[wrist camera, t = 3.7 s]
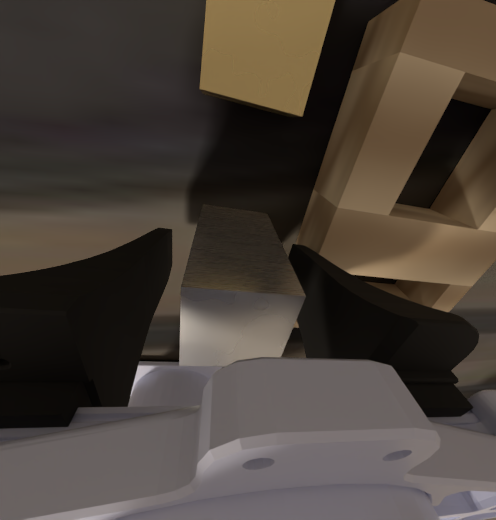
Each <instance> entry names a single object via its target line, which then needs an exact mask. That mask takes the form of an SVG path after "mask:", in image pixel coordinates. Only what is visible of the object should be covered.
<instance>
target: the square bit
mask: <svg viewBox="0 0 496 520" xmlns="http://www.w3.org/2000/svg"><path fill="white" fill-rule="evenodd" d="M305 298H306V295H305V293H304V291H303V289H302V287H301V285H300V282H299V280H298V278H297V276H296V274H295V272H294V270H293V267H292V265H291V263H290V261H289V259H288V257H287V255H286V252H285V250H284V248H283V246H282V244H281V242H280V240H279V237H278V235H277V233H276V231H275V229H274V227H273V225H272V222H271V220H270V218H269V216H268V214H267V213H262V212H255V211H248V210H241V209H234V208H227V207H220V206H213V205H206V204H203V205H202V209H201V213H200V217H199V220H198V224H197V228H196V232H195V236H194V240H193V243H192V247H191V251H190V255H189V259H188V263H187V266H186V270H185V274H184V278H183V282H182V285H181V314H180V354H179V366H227V365H229V364H231V363H233V362H235V361H237V360H243V359H251V358H258V357H281V355H282V353H283V351H284V348H285V346H286V343H287V341H288V339H289V336H290V334H291V331H292V329H293V327H294V324H295V322H296V319H297V317H298V315H299V312H300V310H301V307H302V305H303V303H304V300H305Z"/></svg>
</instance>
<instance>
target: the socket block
mask: <svg viewBox="0 0 496 520" xmlns="http://www.w3.org/2000/svg"><path fill="white" fill-rule="evenodd" d="M451 98H452V99H455V100H459V101H462V102H466V103H470V104H473V105H477V106H481V107H484V108H488V109H491V111H490V113H489V114H488V116H487V118H486V119H485V121H484V122H483V124H482V126H481V127H480V129H479V130H478V132H477V134H476V135H475V137H474V138H473V140H472V142H471V143H470V145H469V146H468V148H467V149H466V151H465V153H464V154H463V156H462V157H461V159H460V161H459V162H458V164H457V165H456V167H455V169H454V170H453V172H452V173H451V175H450V177H449V178H448V180H447V181H446V183H445V185H444V186H443V188H442V189H441V191H440V193H439V194H438V196H437V197H436V199H435V201H434V202H433V204H432V205H431V207H430V208H429V209H427V208H422V207H416V206H410V205H404V204H398V203H395V202H396V201H397V199H398V197H399V195H400V193H401V191H402V189H403V188H404V186H405V184H406V182H407V180H408V178H409V176H410V175H411V173H412V171H413V169H414V167H415V165H416V163H417V161H418V160H419V158H420V156H421V154H422V152H423V150H424V148H425V147H426V145H427V143H428V141H429V139H430V137H431V135H432V133H433V132H434V130H435V128H436V126H437V124H438V122H439V120H440V119H441V117H442V115H443V113H444V111H445V109H446V107H447V105H448V104H449V102H450V100H451ZM296 244H298V245H304V246H307V247H308V248H310V249H312V250H313V251H315V252H316V253H318V254H319V255H321V256H322V257H324V258H325V259H327V260H328V261H330V262H331V263H333V264H335V265H336V266H338V267H339V268H341V269H343V270H344V271H346V272H348V273H349V274H351V275H361V276H371V277H381V278H391V279H398V280H397V281H396V283H395V284H385V283H375V282H366V283H368V284H370V285H372V286H374V287H377V288H379V289H381V290H384V291H386V292H388V293H391V294H393V295H396V296H398V297H401V298H404V299H406V300H409V301H412V302H415V303H418V304H421V305H424V306H427V307H431V308H434V309H438V310H441V311H445V312H449V311H450V310H451V309H452V308H453V307H454V306H455V305H456V303H457V302H458V301H459V300H460V299H461V298H462V297H463V296H464V295H465V294H466V292H467V291H468V290H469V289H470V288H471V287H472V286H473V285H474V284H475V282H476V281H477V280H478V279H479V278H480V277H481V276H482V275H483V274H484V272H485V271H486V270H487V269H488V268H489V267H490V266H491V265H492V264H493V263H494V261H495V260H496V5H495V4H492V3H489V2H487V1H484V0H399V1H397V2H396V3H394V4H393V5H392V6H390V7H389V8H387V9H386V10H384V11H383V12H381V13H380V14H379V15H377V16H376V17H374V18H373V19H371V20H370V21H368V24H367V27H366V30H365V33H364V37H363V40H362V43H361V46H360V49H359V52H358V55H357V58H356V61H355V64H354V67H353V70H352V73H351V76H350V79H349V82H348V85H347V88H346V91H345V94H344V98H343V101H342V104H341V107H340V110H339V113H338V116H337V119H336V122H335V125H334V128H333V131H332V134H331V137H330V140H329V143H328V146H327V149H326V152H325V156H324V159H323V162H322V165H321V168H320V171H319V174H318V177H317V180H316V183H315V186H314V189H313V192H312V195H311V198H310V201H309V204H308V207H307V210H306V213H305V217H304V220H303V223H302V226H301V229H300V232H299V235H298V238H297V241H296ZM293 328H299V326H298V323H297V320H296V322H295V324H294V327H293Z"/></svg>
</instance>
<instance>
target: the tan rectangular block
mask: <svg viewBox="0 0 496 520" xmlns="http://www.w3.org/2000/svg"><path fill="white" fill-rule="evenodd" d="M334 4H335V0H206V13H205V26H204V39H203V52H202V65H201V78H200V90H201V91H202V93H203V94H206V95H209V96H213V97H217V98H221V99H224V100H228V101H232V102H236V103H239V104H243V105H247V106H251V107H254V108H258V109H262V110H266V111H269V112H273V113H277V114H280V115H284V116H288V117H302V116H303V113H304V109H305V106H306V102H307V99H308V95H309V92H310V88H311V85H312V81H313V78H314V74H315V71H316V67H317V63H318V60H319V56H320V53H321V49H322V46H323V42H324V39H325V35H326V32H327V28H328V25H329V21H330V18H331V14H332V11H333V7H334Z"/></svg>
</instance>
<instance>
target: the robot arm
mask: <svg viewBox="0 0 496 520" xmlns="http://www.w3.org/2000/svg"><path fill="white" fill-rule="evenodd" d="M288 259H289V261H290V263H291V265H292V267H293V270H294V272H295V274H296V276H297V278H298V280H299V282H300V285H301V287H302V289H303V291H304V293H305V295H306V298H305V300H304V303H303V305H302V307H301V310H300V312H299V315H298V317H297V319H296V320H297V323H298V326H299V329H300V332H301V336H302V340H303V344H304V348H305V353H306V358H284V357H258V358H251V359H243V360H237V361H235V362H233V363H231V364H229V365H227V366H225V367H223V366H179V362H154V361H140V357H141V354H142V350H143V346H144V343H145V339H146V336H147V333H148V329H149V326H150V323H151V320H152V318H153V315H154V313H155V310H156V308H157V306H158V303H159V301H160V299H161V296H162V294H163V292H164V289H165V287H166V284H167V282H168V279H169V275H170V271H171V267H172V229H165V228H157V229H155V230H153V231H151V232H149V233H147V234H145V235H143V236H141V237H139V238H137V239H135V240H133V241H131V242H129V243H127V244H125V245H122V246H120V247H118V248H116V249H113V250H111V251H108V252H106V253H103V254H100V255H97V256H94V257H91V258H88V259H84V260H80V261H76V262H72V263H69V264H65V265H61V266H56V267H51V268H47V269H41V270H36V271H30V272H24V273H18V274H11V275H3V276H0V520H484V519H490V518H496V390H483V391H480V392H477V393H475V394H474V395H472V396H471V397H469V398H468V399H466V398H465V397H464V396H463V394H462V393H461V392H460V391H459V390H458V389H457V388H456V386H455V385H454V384H456V383H457V382H458V378H457V377H456V376H455V375H454V374H453V373H452V372H451V370H452V369H453V368H454V367H455V366H456V365H458V364H459V363H460V362H461V361H462V360H463V359H464V358H466V357H467V356H468V355H469V354H470V353H471V352H472V351H473V350H474V349H475V347H476V345H477V343H478V339H479V333H478V331H477V329H476V328H475V327H473V326H472V325H471V324H470V323H469V322H467V321H466V320H465V319H464V318H462V317H460V316H458V315H455V314H452V313H448V312H445V311H441V310H438V309H434V308H431V307H427V306H424V305H421V304H418V303H415V302H412V301H409V300H406V299H404V298H401V297H398V296H396V295H393V294H391V293H388V292H386V291H384V290H381V289H379V288H377V287H374V286H372V285H370V284H368V283H366V282H364V281H362V280H360V279H358V278H356V277H355V276H353V275H351V274H349V273H348V272H346V271H344V270H343V269H341V268H339V267H338V266H336V265H335V264H333V263H331V262H330V261H328V260H327V259H325V258H324V257H322V256H321V255H319V254H318V253H316V252H315V251H313V250H312V249H310V248H308V247H307V246H304V245H298V244H293V245H292V248H291V251H290V254H289V257H288ZM129 399H130V400H129Z"/></svg>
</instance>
